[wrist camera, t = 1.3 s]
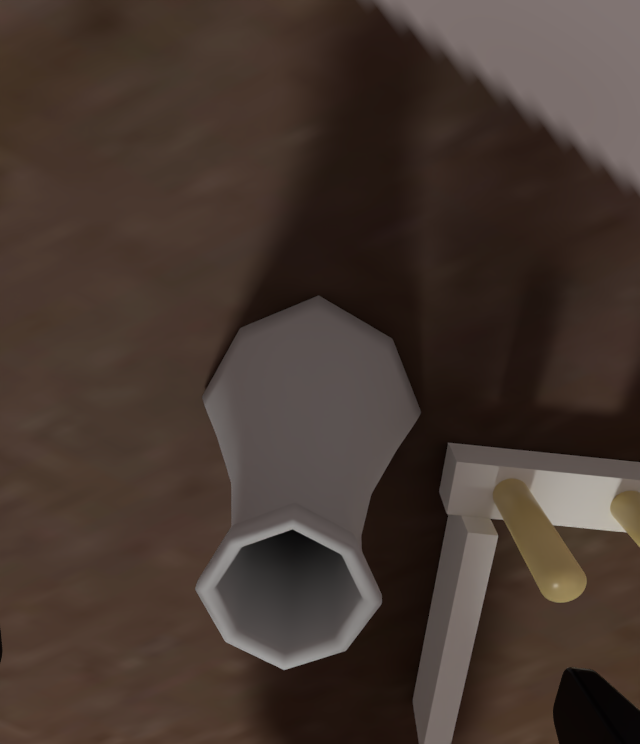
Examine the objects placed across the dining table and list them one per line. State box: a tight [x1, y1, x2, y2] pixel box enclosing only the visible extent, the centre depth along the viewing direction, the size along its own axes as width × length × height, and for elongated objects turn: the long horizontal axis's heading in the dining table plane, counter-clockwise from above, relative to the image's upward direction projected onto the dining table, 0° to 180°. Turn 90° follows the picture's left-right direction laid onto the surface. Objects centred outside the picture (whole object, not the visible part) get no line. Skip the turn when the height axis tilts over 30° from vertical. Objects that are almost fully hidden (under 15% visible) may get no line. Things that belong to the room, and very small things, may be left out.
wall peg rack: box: [412, 443, 640, 744], centre depth 19 cm, size 12×12×6 cm
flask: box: [195, 295, 421, 670], centre depth 15 cm, size 7×7×10 cm
